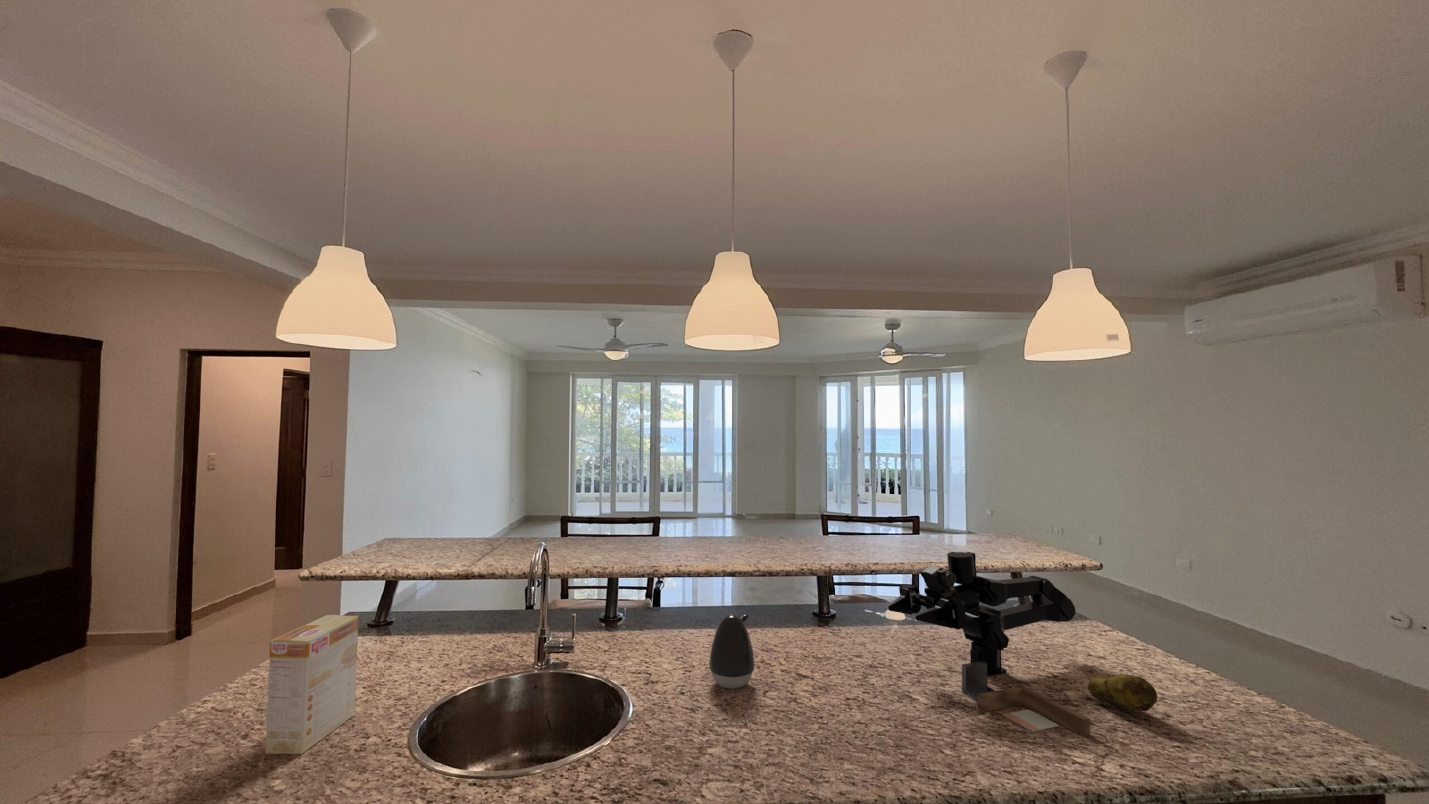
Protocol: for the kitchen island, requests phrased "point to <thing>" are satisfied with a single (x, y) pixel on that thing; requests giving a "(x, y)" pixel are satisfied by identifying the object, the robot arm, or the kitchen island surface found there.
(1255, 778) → the kitchen island surface
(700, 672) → the kitchen island surface
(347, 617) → the coffeecake box
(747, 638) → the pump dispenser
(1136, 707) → the potato
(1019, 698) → the wooden l-shaped block
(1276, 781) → the kitchen island surface
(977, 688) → the bracket
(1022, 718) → the pad
